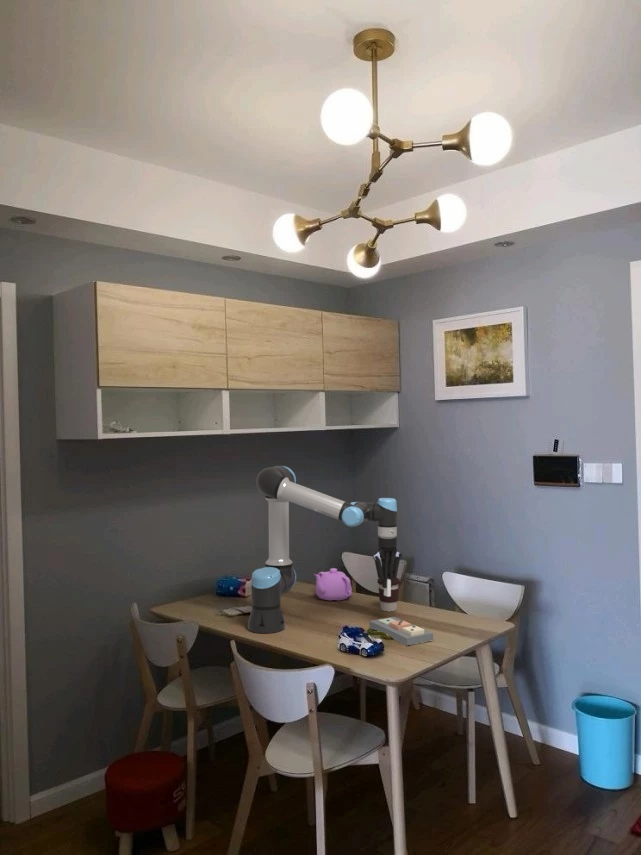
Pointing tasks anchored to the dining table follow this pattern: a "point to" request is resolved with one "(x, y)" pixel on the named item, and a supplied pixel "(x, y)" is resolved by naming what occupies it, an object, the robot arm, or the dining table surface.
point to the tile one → (386, 621)
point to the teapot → (333, 585)
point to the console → (400, 633)
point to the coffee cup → (391, 601)
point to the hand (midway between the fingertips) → (387, 595)
